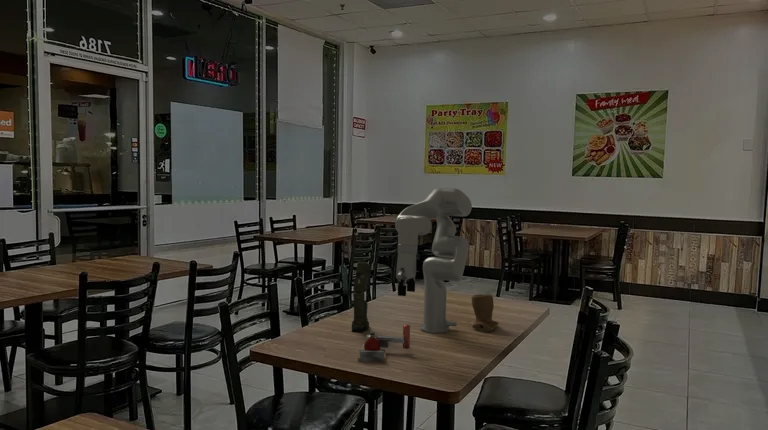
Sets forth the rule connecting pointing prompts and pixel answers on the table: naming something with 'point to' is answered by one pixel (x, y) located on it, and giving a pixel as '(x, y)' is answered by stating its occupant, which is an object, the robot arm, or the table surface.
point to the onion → (372, 344)
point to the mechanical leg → (360, 297)
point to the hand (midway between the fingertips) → (406, 293)
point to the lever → (394, 338)
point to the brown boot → (483, 312)
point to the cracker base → (372, 354)
